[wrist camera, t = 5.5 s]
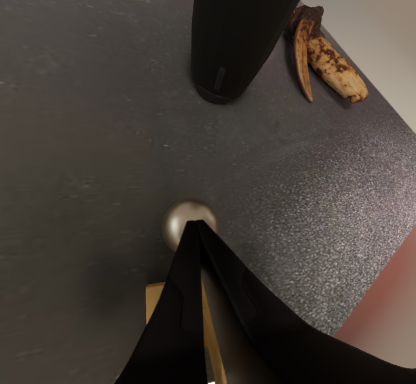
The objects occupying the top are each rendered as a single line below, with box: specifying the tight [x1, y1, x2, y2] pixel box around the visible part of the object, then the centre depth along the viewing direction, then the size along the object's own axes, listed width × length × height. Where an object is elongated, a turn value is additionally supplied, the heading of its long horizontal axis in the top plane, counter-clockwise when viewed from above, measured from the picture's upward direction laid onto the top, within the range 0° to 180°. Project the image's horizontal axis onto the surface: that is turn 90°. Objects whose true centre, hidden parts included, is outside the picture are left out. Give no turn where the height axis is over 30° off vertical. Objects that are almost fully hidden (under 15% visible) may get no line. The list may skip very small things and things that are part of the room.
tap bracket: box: [146, 282, 227, 384], centre depth 15 cm, size 10×8×9 cm
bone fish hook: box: [285, 5, 368, 104], centre depth 27 cm, size 9×5×18 cm
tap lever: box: [161, 198, 219, 384], centre depth 12 cm, size 14×4×4 cm, turn 4°
